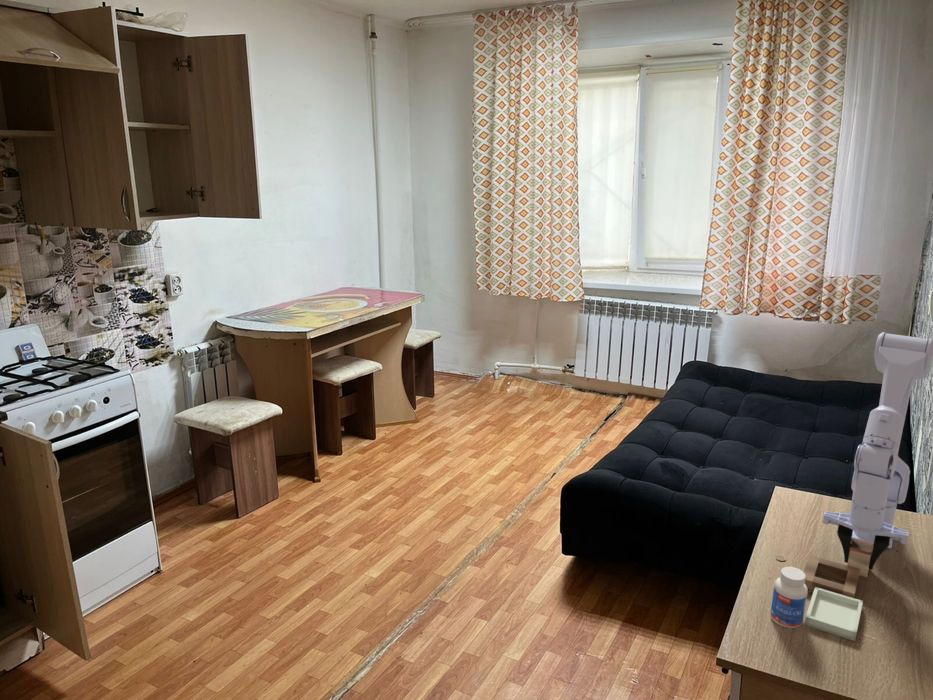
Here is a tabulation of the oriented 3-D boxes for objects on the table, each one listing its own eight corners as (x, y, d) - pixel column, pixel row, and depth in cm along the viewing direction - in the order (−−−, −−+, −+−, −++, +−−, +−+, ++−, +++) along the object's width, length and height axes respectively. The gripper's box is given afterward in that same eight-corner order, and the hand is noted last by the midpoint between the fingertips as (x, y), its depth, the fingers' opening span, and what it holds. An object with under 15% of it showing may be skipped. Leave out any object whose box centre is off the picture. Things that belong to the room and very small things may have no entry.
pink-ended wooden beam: (848, 562, 143) (852, 538, 141) (869, 567, 141) (873, 543, 139) (846, 571, 140) (849, 547, 139) (867, 577, 138) (871, 553, 137)
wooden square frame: (808, 565, 142) (809, 554, 142) (858, 579, 138) (860, 568, 137) (800, 588, 135) (801, 578, 135) (852, 604, 131) (854, 593, 130)
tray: (813, 594, 134) (815, 586, 133) (861, 609, 129) (863, 600, 129) (804, 624, 126) (805, 616, 125) (855, 641, 122) (856, 632, 121)
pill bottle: (770, 625, 126) (776, 578, 123) (769, 606, 131) (775, 561, 128) (804, 632, 124) (811, 584, 121) (801, 612, 129) (808, 567, 126)
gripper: (824, 501, 137) (815, 562, 141) (911, 522, 129) (899, 585, 133) (829, 486, 142) (821, 545, 147) (913, 505, 135) (902, 566, 139)
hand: (858, 563), depth 140 cm, fingers closed on pink-ended wooden beam, 4 cm apart
